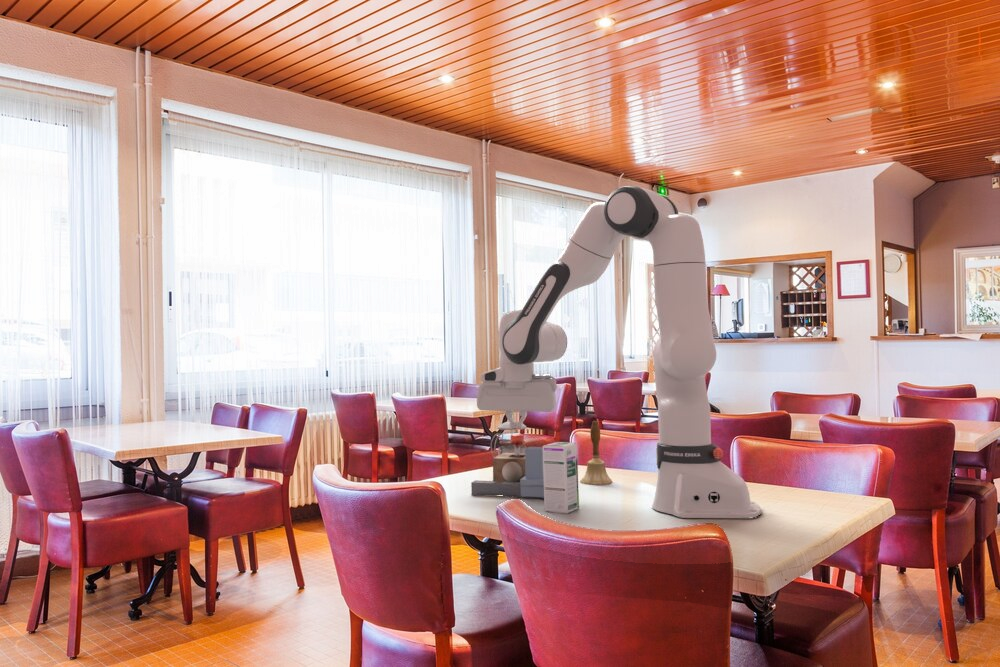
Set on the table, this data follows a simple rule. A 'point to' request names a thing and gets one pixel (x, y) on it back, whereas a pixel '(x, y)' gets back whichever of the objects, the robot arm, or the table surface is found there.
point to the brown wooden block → (508, 467)
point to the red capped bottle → (517, 443)
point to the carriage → (533, 473)
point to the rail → (497, 488)
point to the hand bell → (596, 462)
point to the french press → (507, 441)
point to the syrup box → (560, 477)
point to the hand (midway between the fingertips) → (516, 429)
